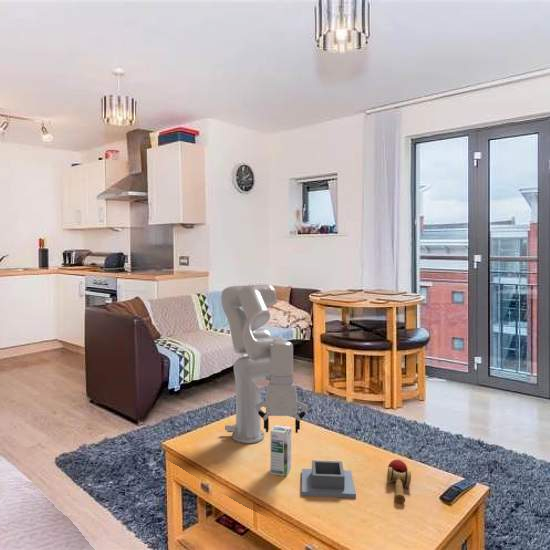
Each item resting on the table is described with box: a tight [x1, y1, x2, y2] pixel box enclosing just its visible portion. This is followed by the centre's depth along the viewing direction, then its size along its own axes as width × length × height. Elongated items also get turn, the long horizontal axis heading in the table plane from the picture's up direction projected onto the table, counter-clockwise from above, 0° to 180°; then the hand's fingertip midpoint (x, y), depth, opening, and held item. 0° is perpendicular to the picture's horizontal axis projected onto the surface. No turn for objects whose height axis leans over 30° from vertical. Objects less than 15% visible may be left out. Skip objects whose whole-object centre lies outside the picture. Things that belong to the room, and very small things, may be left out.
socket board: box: [301, 459, 357, 499], centre depth 140 cm, size 16×14×5 cm
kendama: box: [386, 459, 412, 505], centre depth 138 cm, size 8×6×18 cm
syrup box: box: [269, 424, 292, 477], centre depth 148 cm, size 6×6×14 cm
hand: (281, 431), depth 147 cm, fingers open, 9 cm apart
